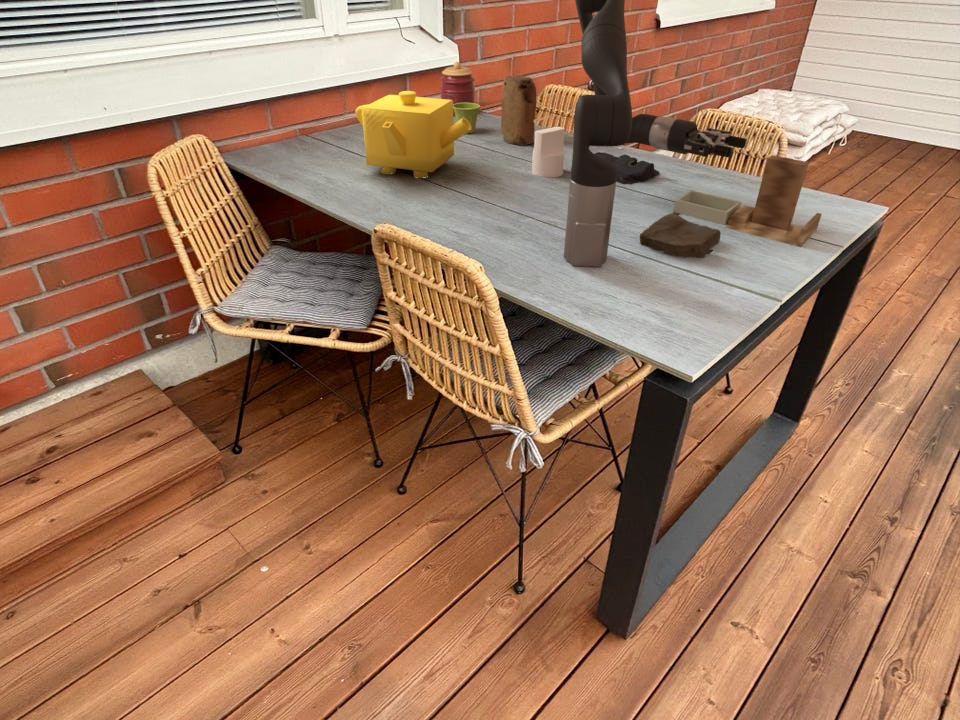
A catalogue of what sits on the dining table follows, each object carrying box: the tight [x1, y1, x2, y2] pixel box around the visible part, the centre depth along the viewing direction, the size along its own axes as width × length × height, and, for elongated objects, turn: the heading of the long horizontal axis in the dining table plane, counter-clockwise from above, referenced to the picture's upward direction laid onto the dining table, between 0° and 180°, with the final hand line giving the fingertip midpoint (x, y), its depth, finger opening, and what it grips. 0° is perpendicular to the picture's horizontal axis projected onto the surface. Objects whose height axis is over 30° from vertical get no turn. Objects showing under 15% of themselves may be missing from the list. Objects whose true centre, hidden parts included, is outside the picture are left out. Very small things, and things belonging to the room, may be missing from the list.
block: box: [500, 75, 537, 146], centre depth 207 cm, size 11×8×20 cm
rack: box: [724, 204, 822, 248], centre depth 150 cm, size 17×12×5 cm
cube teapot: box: [355, 90, 472, 179], centre depth 183 cm, size 35×30×21 cm
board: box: [751, 155, 810, 231], centre depth 147 cm, size 8×3×16 cm, turn 51°
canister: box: [439, 61, 476, 117], centre depth 240 cm, size 13×13×18 cm
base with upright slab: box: [531, 126, 566, 178], centre depth 184 cm, size 9×9×12 cm
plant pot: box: [453, 102, 481, 135], centre depth 220 cm, size 9×9×9 cm
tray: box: [672, 189, 742, 226], centre depth 159 cm, size 13×9×4 cm
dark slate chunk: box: [594, 151, 661, 185], centre depth 188 cm, size 15×22×5 cm
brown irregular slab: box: [639, 212, 721, 259], centre depth 145 cm, size 17×15×4 cm
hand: (738, 148), depth 148 cm, fingers open, 8 cm apart
